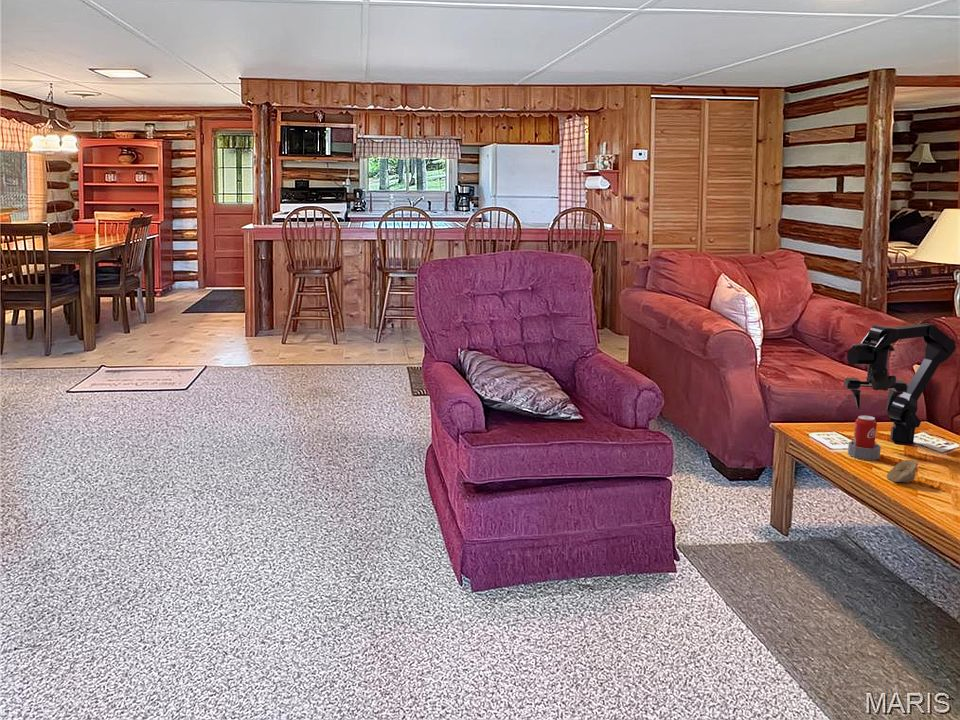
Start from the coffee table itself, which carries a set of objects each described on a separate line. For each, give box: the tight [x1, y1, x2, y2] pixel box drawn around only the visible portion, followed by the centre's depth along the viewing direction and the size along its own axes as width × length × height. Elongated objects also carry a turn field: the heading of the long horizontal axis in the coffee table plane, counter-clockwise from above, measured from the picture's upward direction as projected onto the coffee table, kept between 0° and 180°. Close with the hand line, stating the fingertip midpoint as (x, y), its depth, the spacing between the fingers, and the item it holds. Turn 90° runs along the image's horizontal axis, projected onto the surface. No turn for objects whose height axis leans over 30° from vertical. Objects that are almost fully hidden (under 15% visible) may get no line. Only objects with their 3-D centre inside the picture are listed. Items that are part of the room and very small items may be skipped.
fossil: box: [886, 459, 919, 484], centre depth 265 cm, size 9×4×10 cm
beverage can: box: [852, 415, 878, 448], centre depth 289 cm, size 6×6×12 cm
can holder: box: [847, 440, 882, 461], centre depth 289 cm, size 9×9×4 cm
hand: (872, 409), depth 301 cm, fingers open, 9 cm apart
